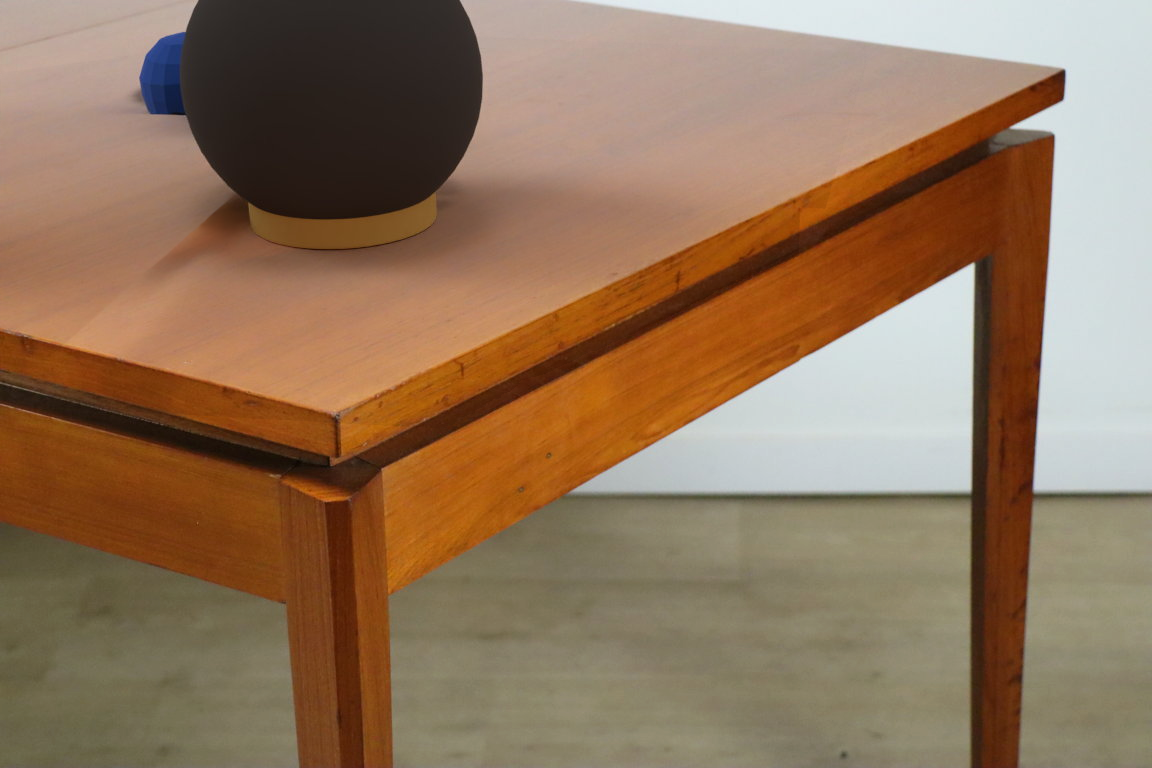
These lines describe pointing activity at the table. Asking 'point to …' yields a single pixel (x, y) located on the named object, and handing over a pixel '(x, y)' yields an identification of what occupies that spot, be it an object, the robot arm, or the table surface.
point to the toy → (163, 76)
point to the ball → (333, 111)
